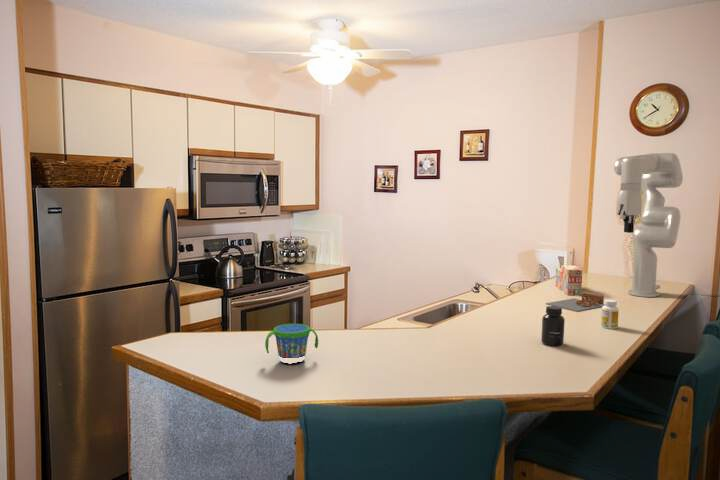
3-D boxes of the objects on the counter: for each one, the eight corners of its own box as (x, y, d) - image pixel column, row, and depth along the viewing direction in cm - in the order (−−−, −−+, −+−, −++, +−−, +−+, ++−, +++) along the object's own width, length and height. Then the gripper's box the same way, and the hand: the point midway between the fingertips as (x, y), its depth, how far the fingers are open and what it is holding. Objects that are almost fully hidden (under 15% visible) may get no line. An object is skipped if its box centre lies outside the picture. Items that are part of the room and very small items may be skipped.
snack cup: (315, 353, 166) (315, 321, 165) (321, 365, 156) (320, 330, 154) (264, 357, 162) (263, 325, 161) (266, 369, 152) (265, 334, 151)
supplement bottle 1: (553, 348, 169) (554, 310, 168) (536, 342, 176) (537, 306, 174) (568, 344, 173) (569, 308, 171) (551, 339, 179) (553, 304, 177)
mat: (573, 299, 238) (574, 298, 238) (605, 306, 224) (606, 305, 224) (545, 304, 229) (545, 303, 229) (577, 311, 215) (577, 310, 215)
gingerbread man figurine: (604, 295, 227) (594, 303, 219) (603, 304, 228) (594, 312, 219) (582, 291, 233) (572, 299, 224) (582, 299, 234) (572, 308, 225)
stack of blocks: (555, 286, 267) (556, 262, 266) (568, 286, 267) (569, 262, 265) (567, 295, 246) (568, 269, 245) (581, 295, 245) (582, 269, 244)
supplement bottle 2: (617, 326, 194) (618, 299, 193) (617, 329, 189) (619, 302, 188) (601, 324, 196) (602, 298, 195) (601, 328, 191) (602, 301, 190)
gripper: (633, 187, 226) (631, 230, 228) (610, 187, 218) (608, 232, 220) (650, 187, 219) (648, 232, 221) (627, 188, 212) (625, 234, 214)
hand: (628, 232), depth 221 cm, fingers closed
